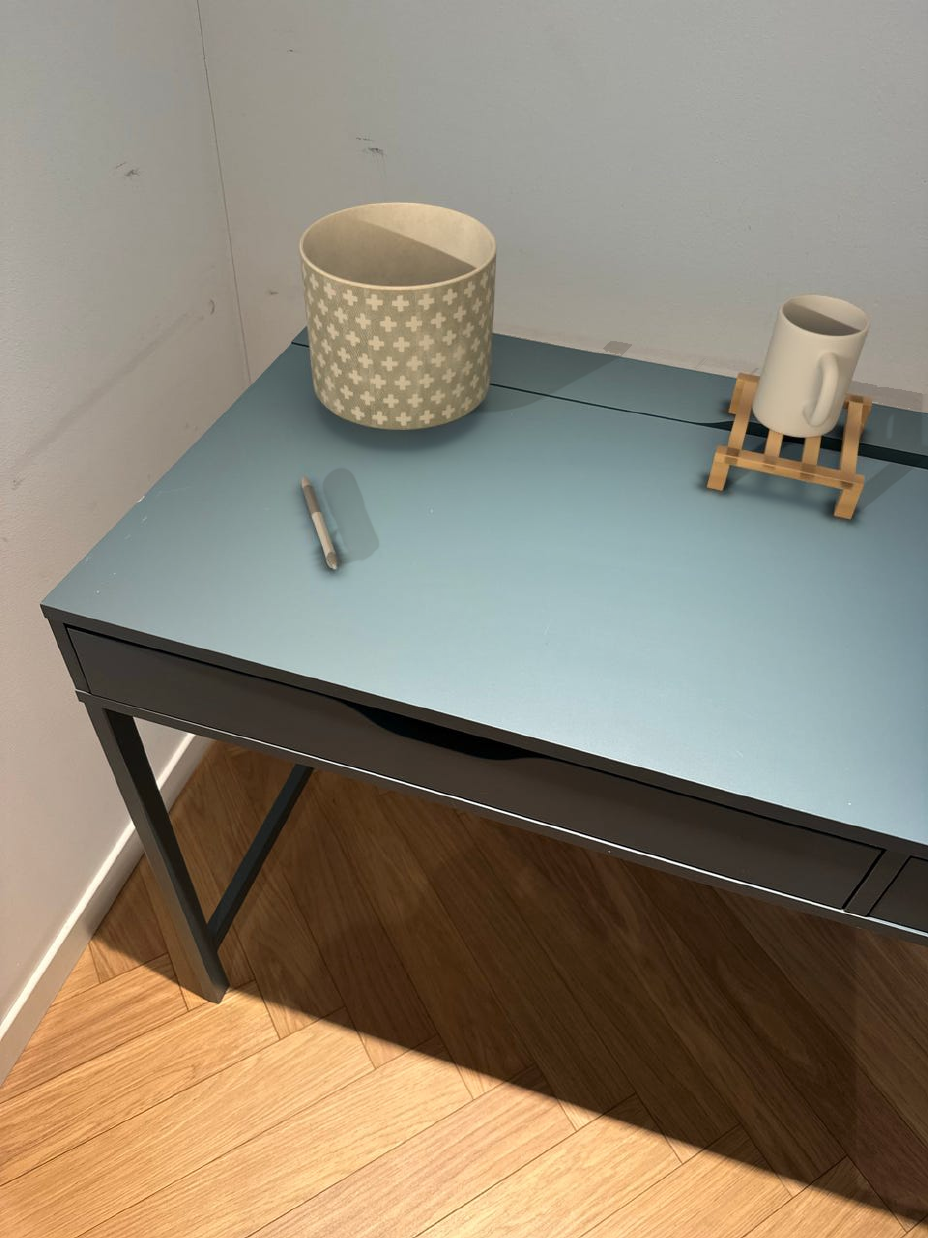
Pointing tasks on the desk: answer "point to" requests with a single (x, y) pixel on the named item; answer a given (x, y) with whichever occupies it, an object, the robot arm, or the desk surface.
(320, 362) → the planter
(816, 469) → the rack
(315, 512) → the pen
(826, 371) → the mug
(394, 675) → the desk surface
